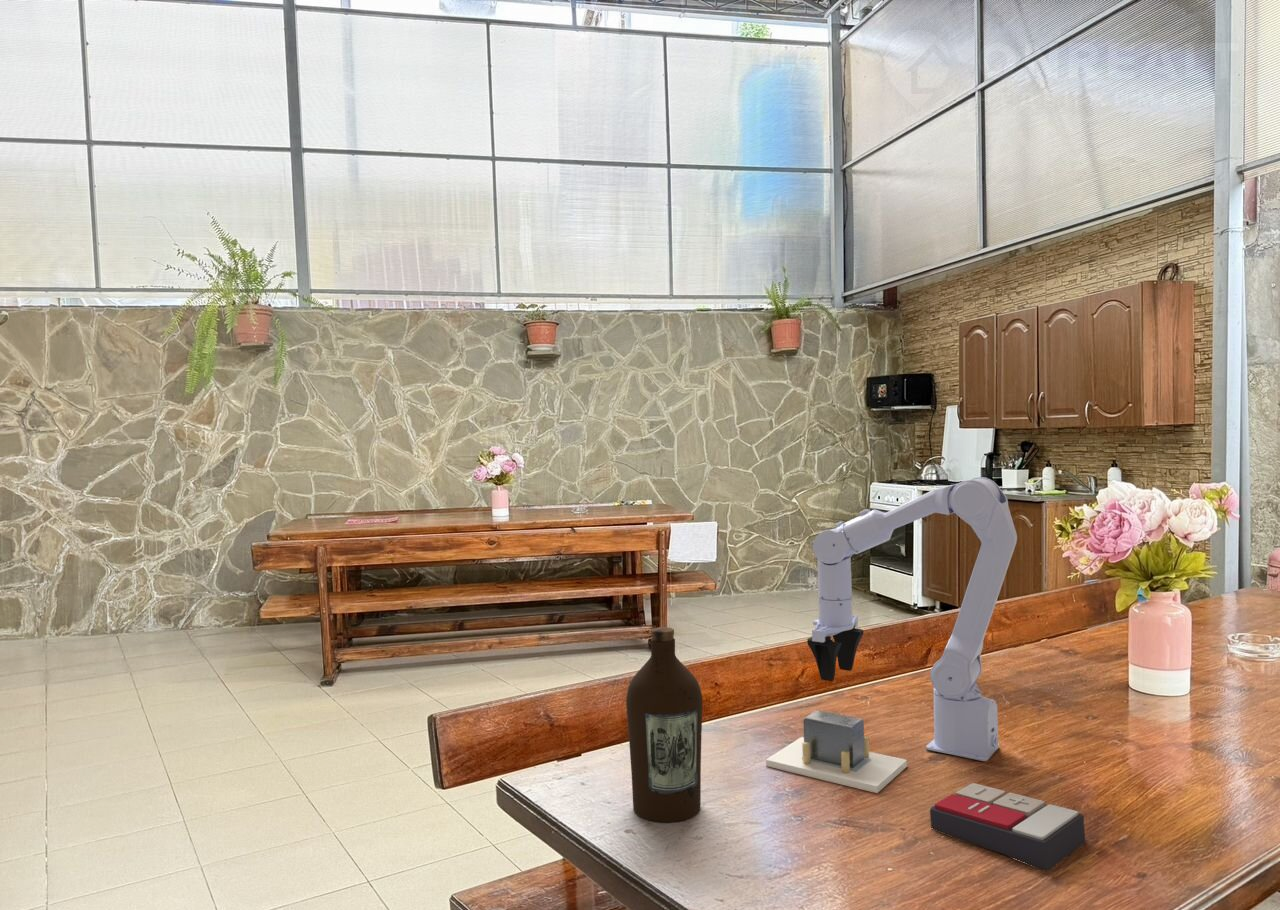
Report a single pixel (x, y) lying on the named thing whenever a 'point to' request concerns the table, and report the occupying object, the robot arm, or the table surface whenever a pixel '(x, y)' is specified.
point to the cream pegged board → (839, 766)
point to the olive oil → (665, 734)
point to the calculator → (1010, 824)
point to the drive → (834, 737)
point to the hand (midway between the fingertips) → (836, 674)
